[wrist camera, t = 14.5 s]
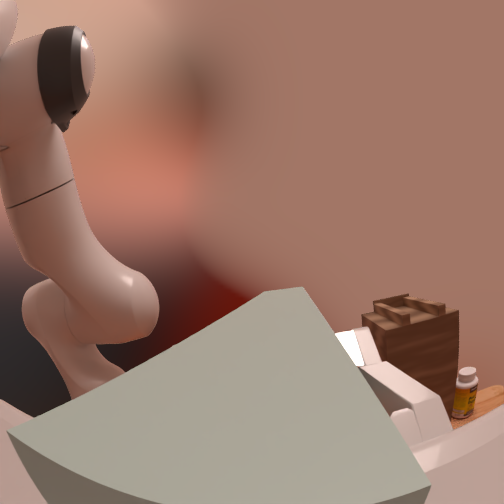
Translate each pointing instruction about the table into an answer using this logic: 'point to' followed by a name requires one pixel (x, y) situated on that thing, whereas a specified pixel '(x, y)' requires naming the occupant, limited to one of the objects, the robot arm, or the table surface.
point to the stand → (418, 341)
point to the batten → (229, 423)
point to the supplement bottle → (465, 392)
